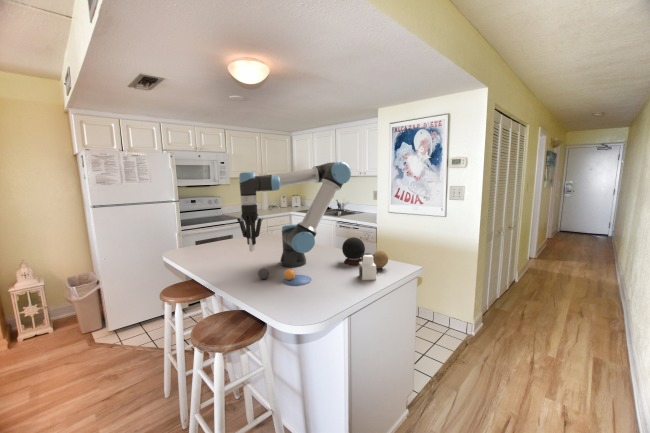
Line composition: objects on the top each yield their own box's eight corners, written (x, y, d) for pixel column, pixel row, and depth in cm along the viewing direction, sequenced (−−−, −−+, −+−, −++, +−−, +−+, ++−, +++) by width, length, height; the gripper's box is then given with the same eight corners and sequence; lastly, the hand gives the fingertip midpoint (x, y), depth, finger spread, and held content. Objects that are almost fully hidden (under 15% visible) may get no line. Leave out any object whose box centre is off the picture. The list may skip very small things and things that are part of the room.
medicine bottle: (359, 275, 146) (358, 252, 144) (372, 274, 146) (372, 251, 145) (362, 280, 139) (361, 256, 137) (376, 279, 139) (376, 255, 138)
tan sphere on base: (390, 271, 151) (390, 252, 149) (373, 271, 150) (373, 253, 149) (385, 265, 160) (385, 248, 158) (369, 266, 159) (369, 249, 158)
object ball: (284, 268, 145) (287, 278, 145) (281, 272, 139) (284, 282, 140) (295, 266, 144) (297, 276, 144) (291, 270, 138) (294, 280, 139)
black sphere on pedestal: (339, 265, 163) (339, 239, 161) (345, 258, 175) (345, 234, 173) (362, 267, 158) (362, 240, 156) (367, 260, 170) (367, 235, 168)
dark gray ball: (259, 268, 147) (263, 278, 148) (254, 272, 142) (259, 282, 142) (268, 265, 146) (272, 274, 146) (263, 269, 140) (268, 279, 141)
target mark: (314, 275, 147) (314, 275, 147) (307, 286, 133) (307, 286, 133) (288, 274, 149) (288, 274, 149) (279, 285, 136) (279, 284, 136)
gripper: (232, 205, 138) (236, 252, 141) (258, 204, 135) (261, 253, 139) (240, 203, 145) (243, 248, 148) (264, 203, 142) (267, 249, 146)
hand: (252, 250), depth 143 cm, fingers closed
